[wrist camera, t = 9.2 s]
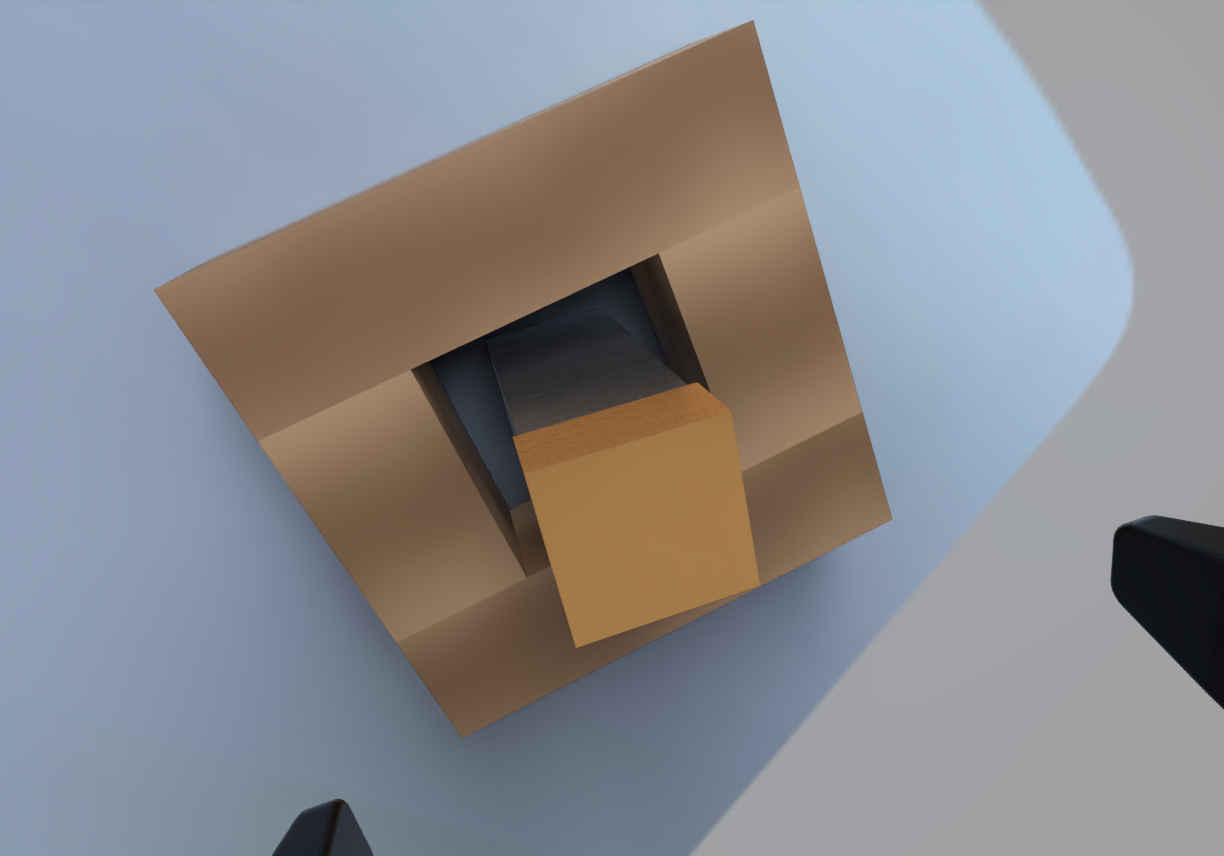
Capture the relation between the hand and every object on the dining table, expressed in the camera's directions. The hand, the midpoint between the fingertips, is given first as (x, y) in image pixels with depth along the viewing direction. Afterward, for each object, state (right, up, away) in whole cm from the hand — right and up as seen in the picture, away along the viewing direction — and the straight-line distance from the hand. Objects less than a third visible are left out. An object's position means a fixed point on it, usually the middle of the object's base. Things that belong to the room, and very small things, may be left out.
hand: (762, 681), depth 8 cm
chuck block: (-3, +4, +11) cm, 12 cm away
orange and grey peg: (-3, +4, +11) cm, 12 cm away
